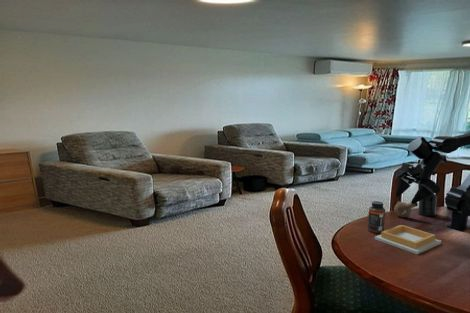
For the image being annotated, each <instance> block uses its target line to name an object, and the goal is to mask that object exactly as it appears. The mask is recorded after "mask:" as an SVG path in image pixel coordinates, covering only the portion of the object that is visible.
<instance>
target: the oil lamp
mask: <svg viewBox="0 0 470 313" xmlns="http://www.w3.org/2000/svg"><path fill="white" fill-rule="evenodd" d="M418 207H419V203H418V202H417V203H415V204H412V203H411V202H410V203H406V202H403V201H400V200H398V201H397V202H396V204H395V205H394V209H393V210H394V213H395V215H396V216H398V217H400V218H410V217H411V211H412V209H413V208H418Z"/></svg>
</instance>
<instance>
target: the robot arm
mask: <svg viewBox="0 0 470 313" xmlns="http://www.w3.org/2000/svg"><path fill="white" fill-rule="evenodd" d="M467 146H470V132H469V133H464V134H460V135H455V136H449V135H447V136H445V135H444V136H443V135H440V136H439V135H437V136H434V137H433V138H432V139H431V140H428V141H427V139H426V138H425V137H423V136H421V135H420V136H419V135H418V137H417V138H414V139H413V140H412V141H411V142H409V143H408V145H407V150H408V151H409V152H410V153H411V154H412V155H414V156H415V157H417V159H419V160H421V161H420V162H419V163H418V162H414V164H409V163H407V162H402V163H401V167H400V169H399V170H397V171H396V173H395V176H396V179H397V181H398V184H397V188H396V191H395V195H394V196H395V197H396V198H400V197H401V196H402V194H405V192H406V191H407V190H408V189H409V188H410V187H411V184H417V185H418V186H417V187H418V189H417V191H416V192H415V195H414V196H413V197H412V200H411V202H410V203H412V204H415V203H417V204H418V203H419V201H420V200H422V199H424V198H426V197H428V196H431V195H434V194H435V195H438V194H439V193H440V192H441V186H440V185H439V184H438V183H436V182H435V181H434V180H433V179H430V178H431V177H432V176H436V174H437V173H436V172H435V171H436V170H437V168H438V167H439V165H440V164H441V163H444V164H447V163H448V160H447V156H446V155H445V154H451V153H453V152H455V151H457V150H458V149H459V148H462V147H467ZM441 153H443V154H441ZM444 203H445V205H446V210H448V211H451V216H450V223H448V224H447V225H446V227H448V228H449V229H450V228H451V229H454V230H458V231H463V232H465V231H467V230H469V229H470V226H469V225H468V222H469V217H470V173H469V174H468V175H467V176H466V178H465V179H464V180H463V182H462V183H461V184H460V185H459V186H457V187H456V186H452V187H450V189H449V190H448V191H447V193H446V194H445V198H444Z"/></svg>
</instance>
